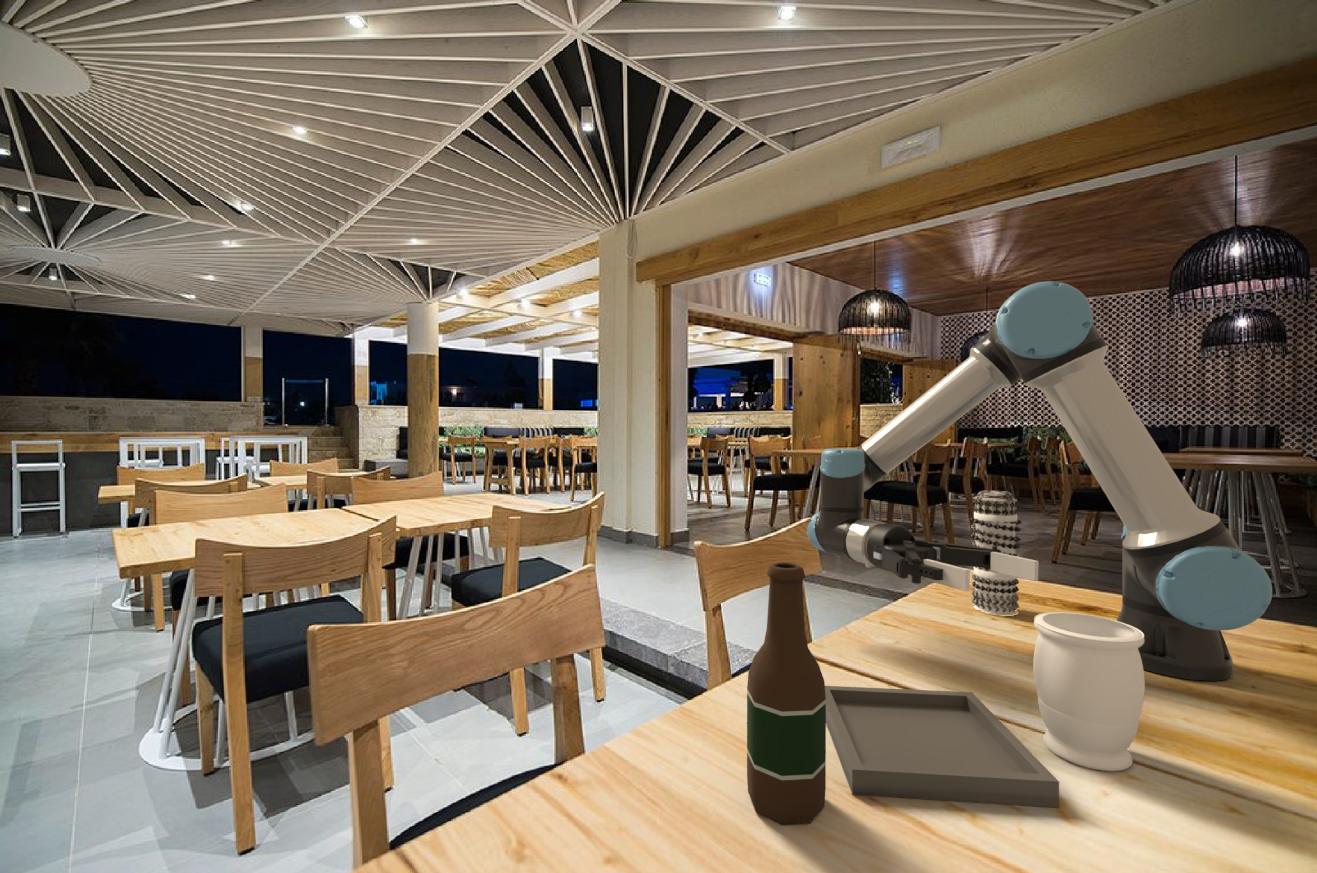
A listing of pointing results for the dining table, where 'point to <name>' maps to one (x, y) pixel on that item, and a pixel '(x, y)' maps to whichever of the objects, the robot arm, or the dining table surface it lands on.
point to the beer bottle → (786, 711)
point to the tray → (932, 748)
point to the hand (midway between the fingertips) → (1003, 575)
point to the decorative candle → (997, 529)
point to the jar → (1089, 687)
